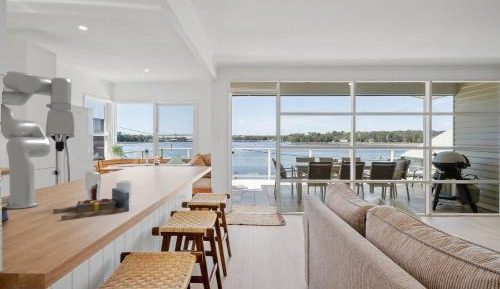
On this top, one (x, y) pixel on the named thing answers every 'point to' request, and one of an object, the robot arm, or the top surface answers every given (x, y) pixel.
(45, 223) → the top surface
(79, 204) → the decorative book
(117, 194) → the guide rails
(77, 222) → the top surface
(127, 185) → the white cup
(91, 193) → the beer glass
